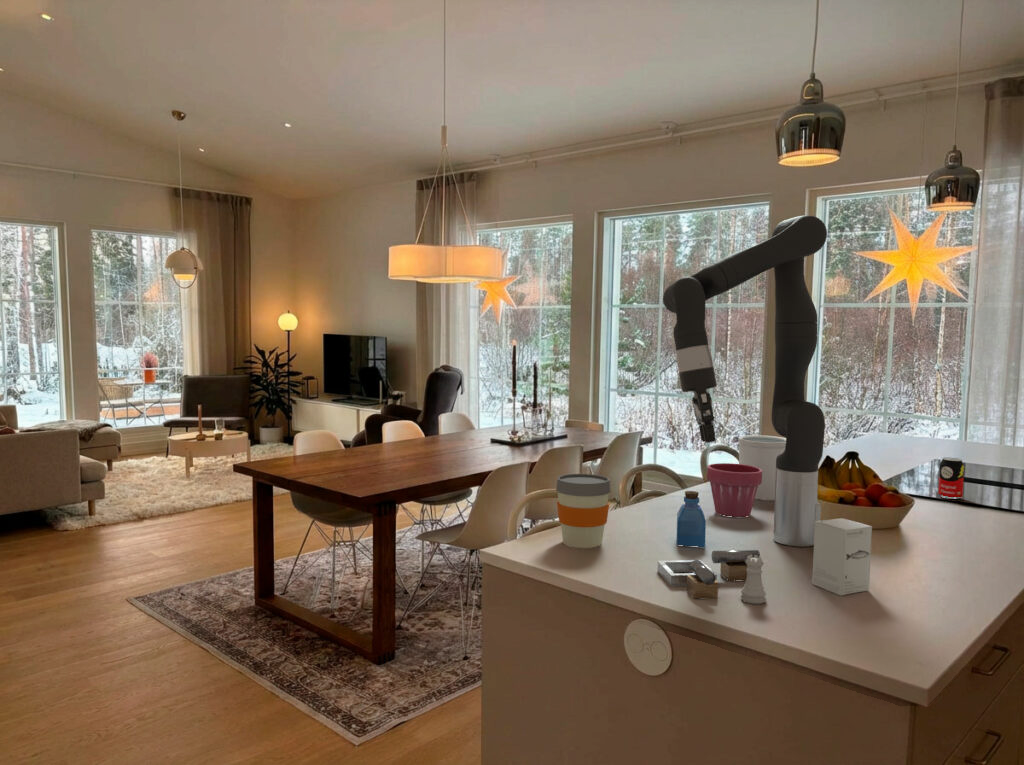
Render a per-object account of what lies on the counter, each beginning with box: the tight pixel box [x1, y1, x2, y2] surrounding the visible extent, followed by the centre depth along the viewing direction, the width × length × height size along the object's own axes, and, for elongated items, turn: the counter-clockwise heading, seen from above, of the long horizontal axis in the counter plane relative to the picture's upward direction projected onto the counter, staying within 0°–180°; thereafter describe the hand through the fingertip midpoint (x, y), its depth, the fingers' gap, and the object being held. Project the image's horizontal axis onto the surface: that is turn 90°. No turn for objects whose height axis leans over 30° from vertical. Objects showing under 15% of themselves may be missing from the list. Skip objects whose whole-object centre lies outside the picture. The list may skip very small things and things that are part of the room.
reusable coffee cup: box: [555, 473, 612, 549], centre depth 168 cm, size 13×13×15 cm
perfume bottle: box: [676, 490, 707, 548], centre depth 168 cm, size 6×6×12 cm
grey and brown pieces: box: [657, 549, 761, 600], centre depth 140 cm, size 19×17×5 cm
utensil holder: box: [738, 434, 786, 501], centre depth 220 cm, size 15×15×18 cm
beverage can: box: [937, 457, 965, 498], centre depth 219 cm, size 6×6×12 cm
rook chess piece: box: [740, 555, 767, 605], centre depth 132 cm, size 4×4×8 cm
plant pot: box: [706, 462, 762, 518], centre depth 197 cm, size 14×14×13 cm
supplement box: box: [811, 517, 873, 597], centre depth 139 cm, size 7×7×13 cm
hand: (708, 441), depth 159 cm, fingers open, 8 cm apart
